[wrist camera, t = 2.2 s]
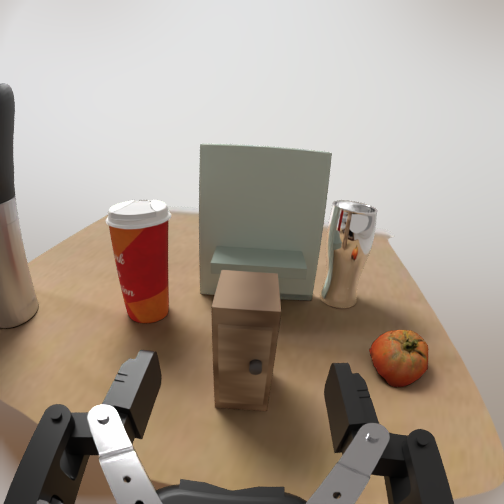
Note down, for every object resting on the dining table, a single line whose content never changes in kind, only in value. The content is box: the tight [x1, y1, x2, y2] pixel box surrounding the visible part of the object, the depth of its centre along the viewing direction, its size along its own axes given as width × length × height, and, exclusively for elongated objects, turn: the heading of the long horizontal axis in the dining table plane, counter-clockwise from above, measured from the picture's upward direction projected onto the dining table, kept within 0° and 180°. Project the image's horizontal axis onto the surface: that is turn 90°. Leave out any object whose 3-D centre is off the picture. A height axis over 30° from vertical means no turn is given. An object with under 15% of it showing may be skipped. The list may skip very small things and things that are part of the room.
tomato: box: [369, 330, 428, 388], centre depth 31 cm, size 8×7×7 cm
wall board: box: [199, 144, 332, 301], centre depth 41 cm, size 17×10×22 cm, turn 88°
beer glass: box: [320, 200, 377, 308], centre depth 43 cm, size 7×7×15 cm
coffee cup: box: [106, 200, 171, 323], centre depth 37 cm, size 8×8×15 cm
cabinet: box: [212, 270, 281, 411], centre depth 26 cm, size 5×7×12 cm
